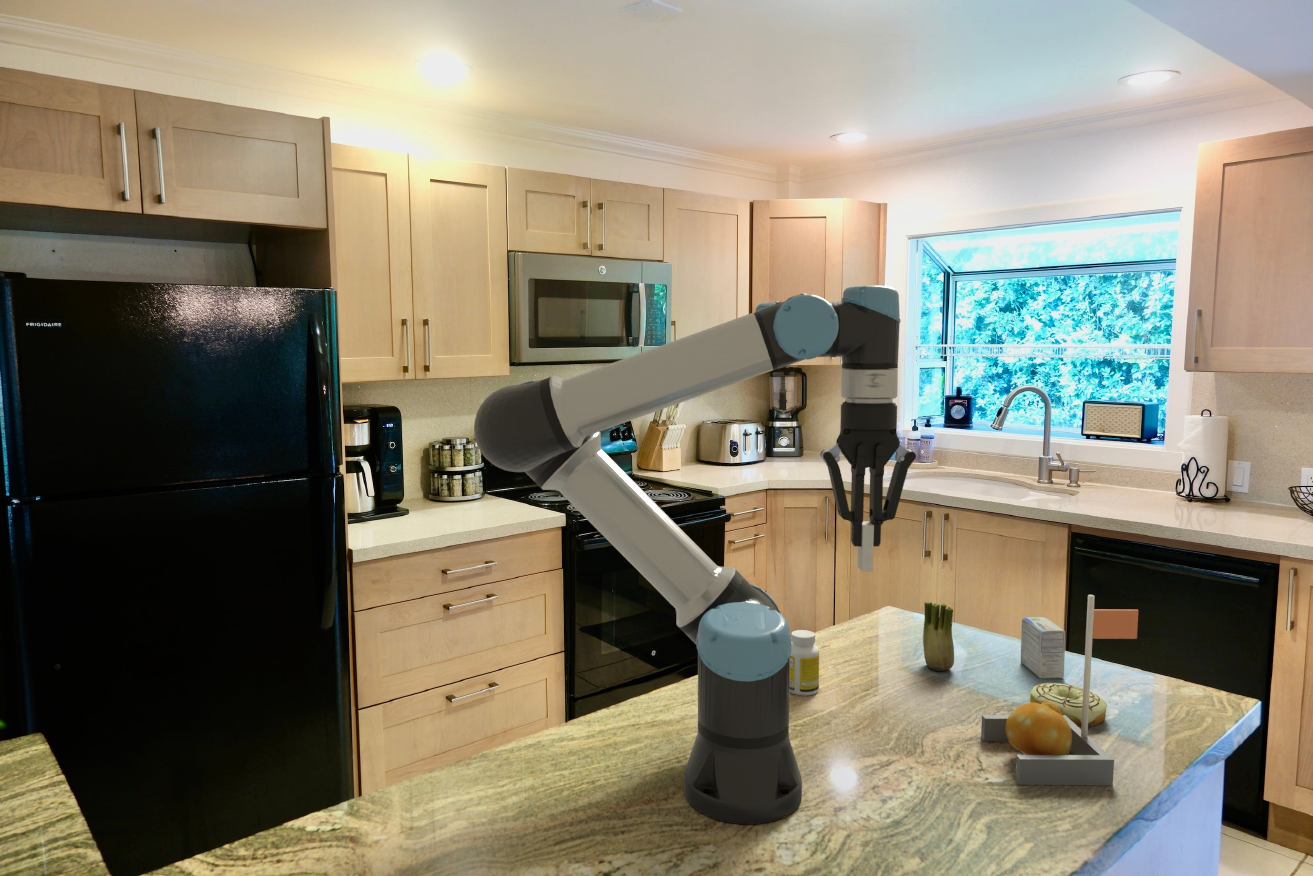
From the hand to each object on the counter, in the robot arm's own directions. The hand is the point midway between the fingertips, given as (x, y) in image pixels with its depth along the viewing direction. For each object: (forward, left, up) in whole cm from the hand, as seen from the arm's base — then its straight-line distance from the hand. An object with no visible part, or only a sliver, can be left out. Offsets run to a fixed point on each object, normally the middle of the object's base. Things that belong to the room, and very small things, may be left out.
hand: (865, 568), depth 116 cm
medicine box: (+39, +30, -27) cm, 56 cm away
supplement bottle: (-5, +21, -27) cm, 34 cm away
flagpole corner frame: (+28, -3, -26) cm, 38 cm away
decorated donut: (+35, +12, -27) cm, 46 cm away
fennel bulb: (+21, +31, -27) cm, 46 cm away
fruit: (+24, -3, -27) cm, 36 cm away
